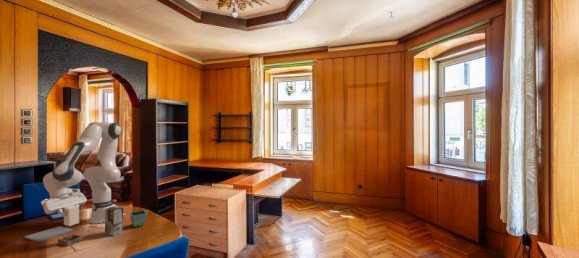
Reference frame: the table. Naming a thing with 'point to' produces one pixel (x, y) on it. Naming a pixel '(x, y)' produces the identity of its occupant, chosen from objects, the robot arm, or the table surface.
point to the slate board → (48, 234)
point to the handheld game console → (56, 216)
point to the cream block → (71, 215)
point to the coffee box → (114, 220)
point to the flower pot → (138, 218)
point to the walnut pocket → (75, 240)
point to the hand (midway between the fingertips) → (71, 213)
